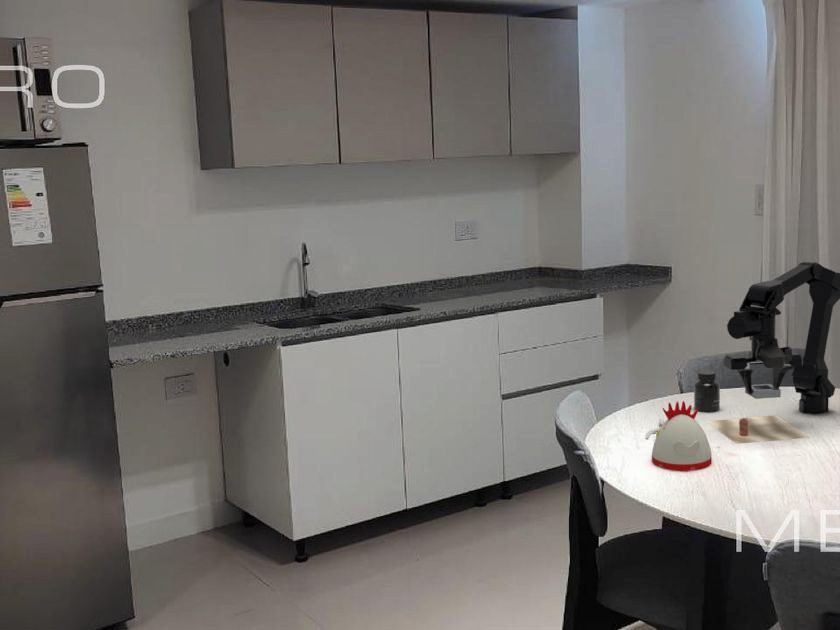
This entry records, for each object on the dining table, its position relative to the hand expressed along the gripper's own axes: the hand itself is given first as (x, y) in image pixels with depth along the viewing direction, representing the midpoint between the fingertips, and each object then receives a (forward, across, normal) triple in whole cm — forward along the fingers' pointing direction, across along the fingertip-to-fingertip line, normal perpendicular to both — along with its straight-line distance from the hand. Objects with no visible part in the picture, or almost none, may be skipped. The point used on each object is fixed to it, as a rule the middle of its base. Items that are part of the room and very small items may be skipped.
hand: (762, 393), depth 246 cm
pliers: (+11, -23, +8) cm, 27 cm away
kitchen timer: (+11, -27, -16) cm, 34 cm away
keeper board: (+10, -2, -1) cm, 11 cm away
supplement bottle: (+11, -7, +20) cm, 23 cm away
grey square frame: (0, 0, 0) cm, 0 cm away
